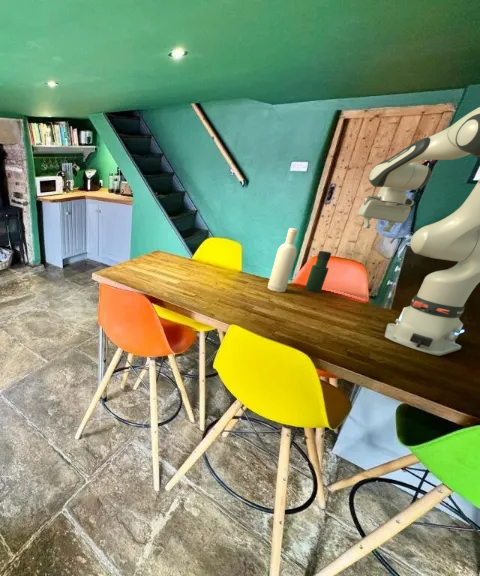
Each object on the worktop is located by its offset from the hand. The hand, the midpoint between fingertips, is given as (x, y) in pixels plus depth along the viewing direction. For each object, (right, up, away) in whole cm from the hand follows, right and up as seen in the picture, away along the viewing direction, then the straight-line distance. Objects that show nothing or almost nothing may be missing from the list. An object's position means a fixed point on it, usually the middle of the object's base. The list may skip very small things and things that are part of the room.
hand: (375, 229), depth 137 cm
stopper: (-18, -17, +10) cm, 27 cm away
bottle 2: (-19, -28, +14) cm, 36 cm away
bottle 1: (-39, -27, +12) cm, 49 cm away
